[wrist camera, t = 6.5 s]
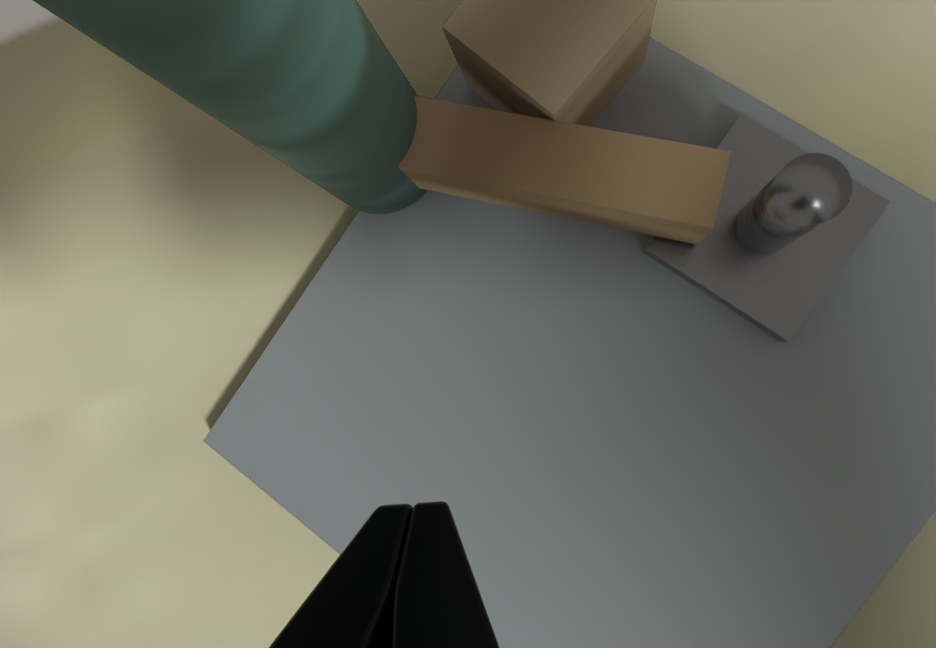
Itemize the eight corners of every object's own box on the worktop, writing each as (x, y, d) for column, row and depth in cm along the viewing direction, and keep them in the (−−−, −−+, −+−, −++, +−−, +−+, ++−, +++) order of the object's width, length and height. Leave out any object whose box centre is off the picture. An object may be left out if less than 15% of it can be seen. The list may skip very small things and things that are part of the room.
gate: (715, 153, 15) (1068, -424, 4) (685, 282, 15) (955, 61, 4) (343, 88, 17) (-132, -440, 6) (315, 203, 17) (-219, -104, 6)
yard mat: (1079, 299, 14) (1097, 297, 14) (680, 823, 15) (683, 838, 14) (527, -24, 17) (525, -35, 16) (213, 438, 18) (203, 441, 17)
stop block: (644, 62, 16) (657, -7, 13) (560, 161, 16) (553, 115, 13) (548, -10, 16) (539, -93, 13) (468, 87, 16) (441, 26, 13)
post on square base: (878, 208, 14) (979, 155, 11) (780, 341, 15) (845, 335, 11) (735, 123, 15) (783, 45, 11) (643, 252, 15) (660, 217, 12)
